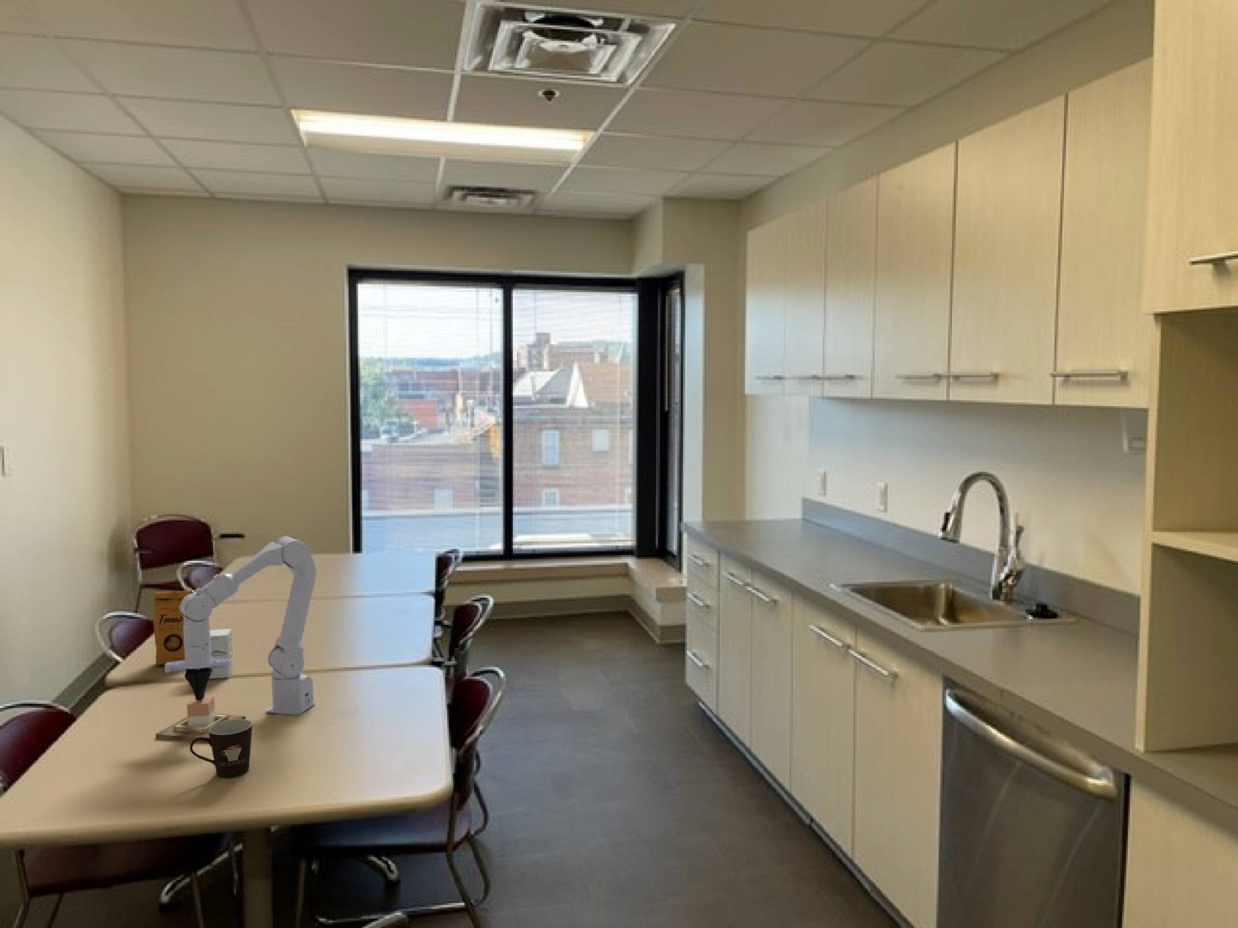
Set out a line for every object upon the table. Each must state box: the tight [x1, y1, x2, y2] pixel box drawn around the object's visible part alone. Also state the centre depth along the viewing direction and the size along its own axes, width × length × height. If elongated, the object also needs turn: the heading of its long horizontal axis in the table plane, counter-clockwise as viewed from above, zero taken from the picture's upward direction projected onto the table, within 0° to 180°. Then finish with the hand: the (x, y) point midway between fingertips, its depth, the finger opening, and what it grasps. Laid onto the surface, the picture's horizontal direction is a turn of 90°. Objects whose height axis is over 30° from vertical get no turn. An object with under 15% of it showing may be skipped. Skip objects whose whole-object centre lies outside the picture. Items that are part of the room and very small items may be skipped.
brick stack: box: [186, 696, 216, 727], centre depth 211 cm, size 5×5×6 cm
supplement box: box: [208, 628, 234, 680], centre depth 250 cm, size 7×7×13 cm
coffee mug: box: [189, 719, 253, 779], centre depth 187 cm, size 12×9×10 cm
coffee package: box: [152, 590, 194, 666], centre depth 261 cm, size 10×12×22 cm
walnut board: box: [155, 713, 247, 743], centre depth 211 cm, size 14×14×2 cm
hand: (200, 698), depth 210 cm, fingers closed
